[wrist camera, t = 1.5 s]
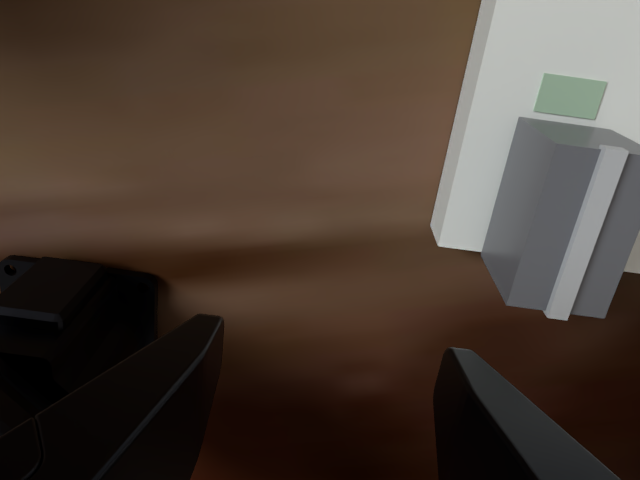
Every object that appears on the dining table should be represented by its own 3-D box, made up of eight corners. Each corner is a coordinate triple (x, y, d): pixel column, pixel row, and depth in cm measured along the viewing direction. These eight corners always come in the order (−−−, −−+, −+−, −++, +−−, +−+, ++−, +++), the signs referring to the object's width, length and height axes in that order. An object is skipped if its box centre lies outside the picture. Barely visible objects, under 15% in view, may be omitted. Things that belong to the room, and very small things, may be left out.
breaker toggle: (562, 269, 20) (606, 325, 17) (480, 257, 20) (507, 312, 17) (611, 126, 18) (674, 157, 14) (519, 113, 18) (560, 142, 14)
